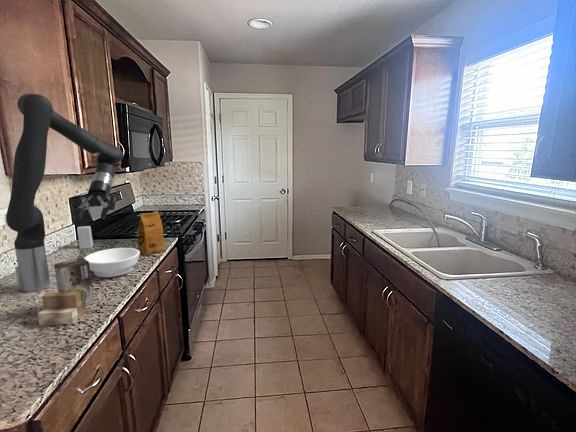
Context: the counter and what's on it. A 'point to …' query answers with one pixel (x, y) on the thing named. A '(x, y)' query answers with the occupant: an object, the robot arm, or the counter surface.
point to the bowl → (113, 261)
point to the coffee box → (75, 278)
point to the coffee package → (150, 233)
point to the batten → (57, 316)
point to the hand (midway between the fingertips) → (90, 217)
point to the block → (64, 301)
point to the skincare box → (85, 237)
